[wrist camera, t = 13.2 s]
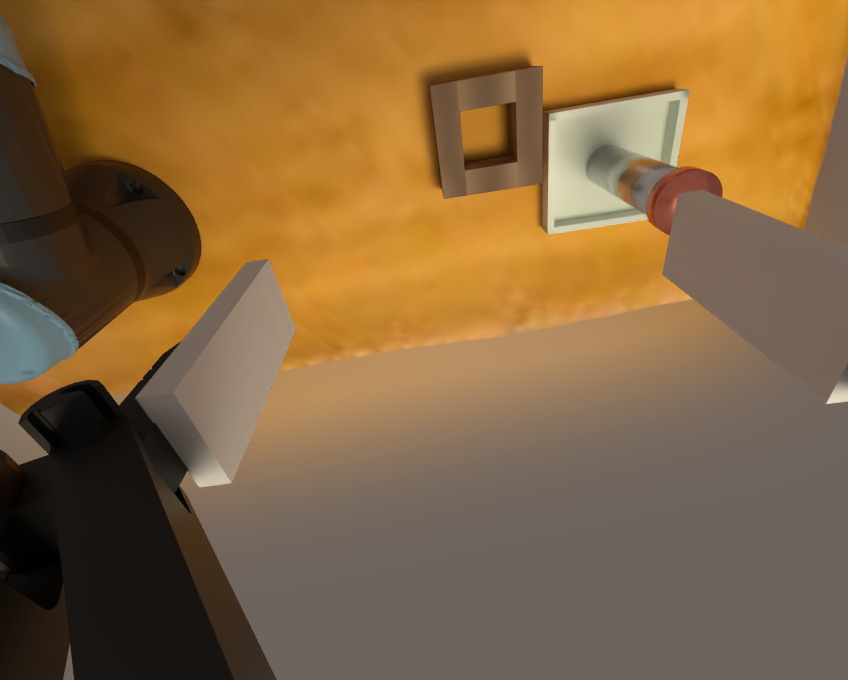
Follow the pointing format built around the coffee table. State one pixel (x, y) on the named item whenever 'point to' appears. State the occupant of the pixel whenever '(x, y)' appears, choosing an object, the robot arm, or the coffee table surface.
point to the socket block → (524, 131)
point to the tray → (591, 129)
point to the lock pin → (647, 182)
